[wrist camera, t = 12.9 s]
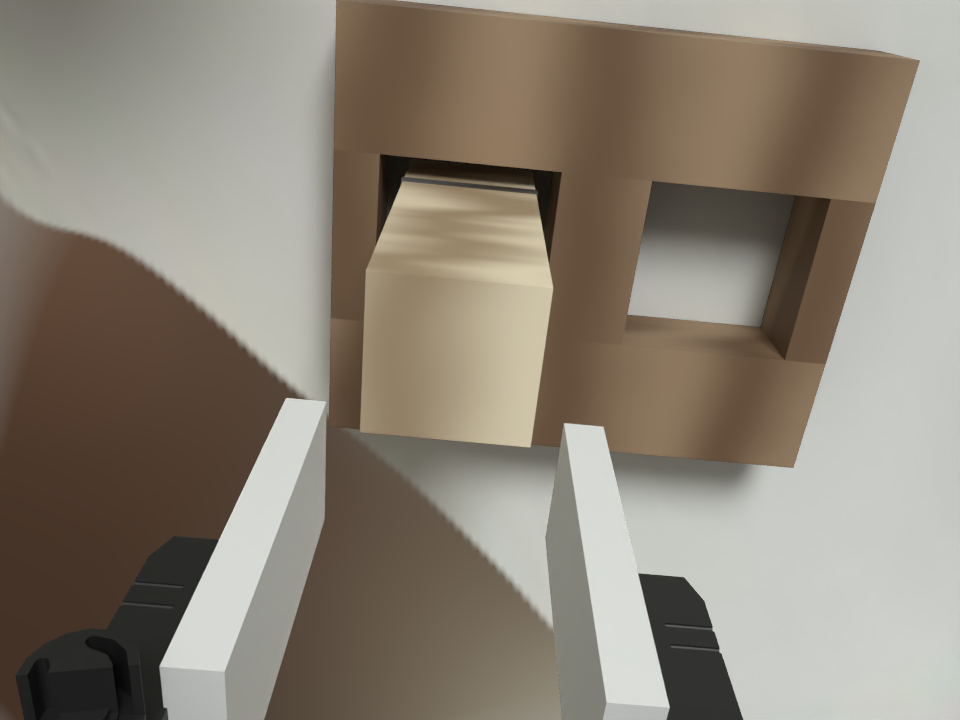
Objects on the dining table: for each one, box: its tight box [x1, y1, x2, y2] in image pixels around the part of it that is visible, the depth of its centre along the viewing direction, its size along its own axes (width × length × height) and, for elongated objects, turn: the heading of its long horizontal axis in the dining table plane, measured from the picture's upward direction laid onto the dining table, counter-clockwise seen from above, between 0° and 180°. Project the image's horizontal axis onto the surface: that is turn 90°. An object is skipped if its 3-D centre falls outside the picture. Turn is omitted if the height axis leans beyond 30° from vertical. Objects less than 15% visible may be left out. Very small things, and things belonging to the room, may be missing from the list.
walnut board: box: [329, 0, 920, 468], centre depth 30 cm, size 18×15×3 cm
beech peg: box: [360, 159, 553, 447], centre depth 26 cm, size 4×4×12 cm
